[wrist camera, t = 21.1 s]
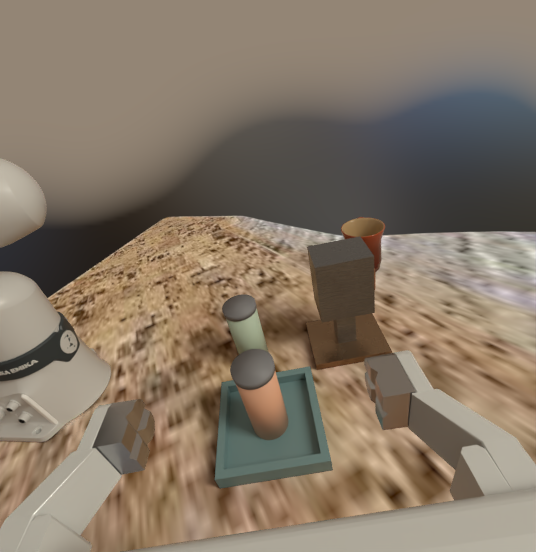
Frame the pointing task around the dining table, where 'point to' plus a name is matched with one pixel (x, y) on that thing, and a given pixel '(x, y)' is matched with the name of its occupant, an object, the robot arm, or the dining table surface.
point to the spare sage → (244, 323)
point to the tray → (279, 452)
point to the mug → (366, 234)
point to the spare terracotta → (260, 392)
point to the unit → (344, 304)
